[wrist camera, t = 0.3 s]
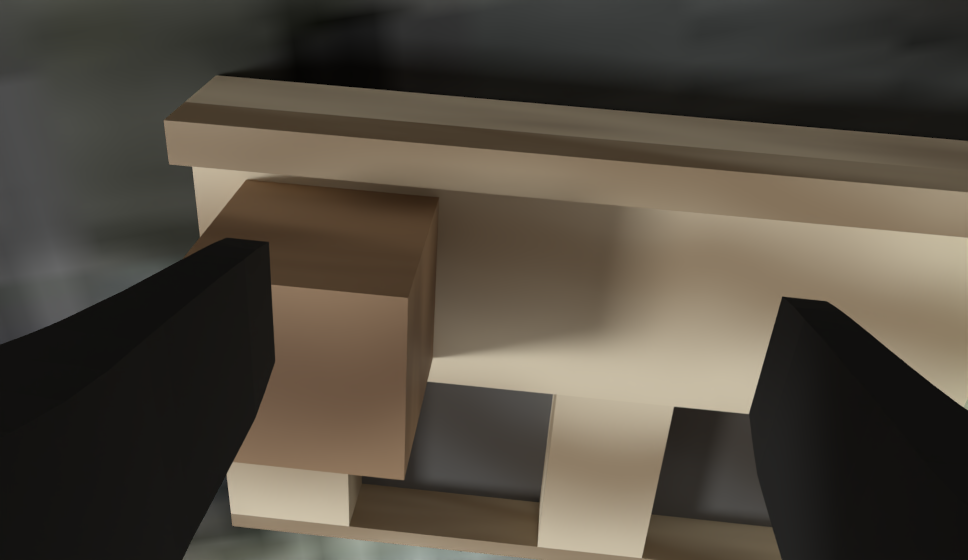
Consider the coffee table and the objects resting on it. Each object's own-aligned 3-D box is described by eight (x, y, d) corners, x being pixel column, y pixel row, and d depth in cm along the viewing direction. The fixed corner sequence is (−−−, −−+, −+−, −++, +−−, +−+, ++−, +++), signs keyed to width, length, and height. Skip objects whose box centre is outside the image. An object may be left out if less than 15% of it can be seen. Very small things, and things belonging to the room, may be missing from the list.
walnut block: (432, 358, 23) (404, 480, 19) (259, 340, 23) (194, 458, 19) (439, 197, 20) (407, 297, 16) (246, 179, 20) (170, 275, 17)
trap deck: (896, 548, 27) (944, 661, 24) (253, 479, 28) (208, 579, 24) (1062, 149, 21) (1161, 225, 17) (216, 75, 21) (147, 133, 18)
